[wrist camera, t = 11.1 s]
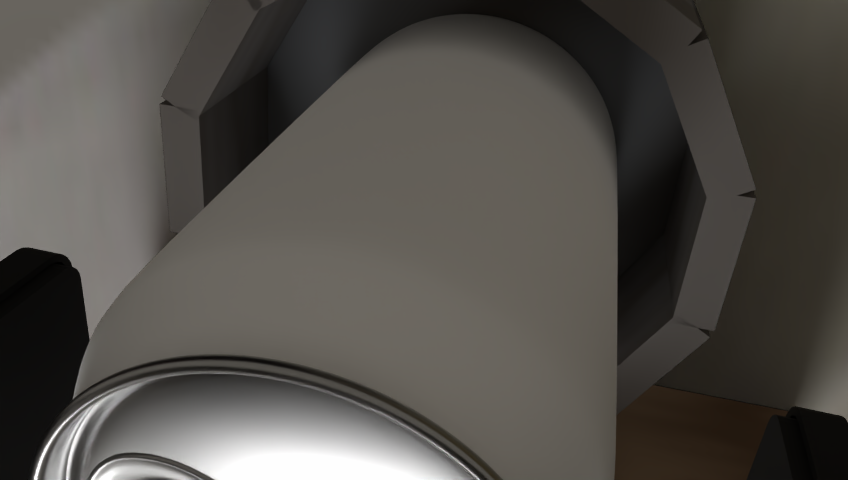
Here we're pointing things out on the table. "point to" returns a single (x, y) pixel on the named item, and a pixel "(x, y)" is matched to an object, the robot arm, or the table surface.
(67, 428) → the can
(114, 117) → the table surface
